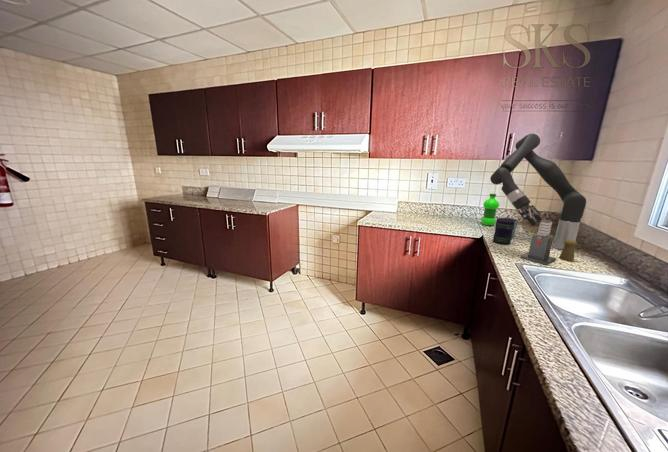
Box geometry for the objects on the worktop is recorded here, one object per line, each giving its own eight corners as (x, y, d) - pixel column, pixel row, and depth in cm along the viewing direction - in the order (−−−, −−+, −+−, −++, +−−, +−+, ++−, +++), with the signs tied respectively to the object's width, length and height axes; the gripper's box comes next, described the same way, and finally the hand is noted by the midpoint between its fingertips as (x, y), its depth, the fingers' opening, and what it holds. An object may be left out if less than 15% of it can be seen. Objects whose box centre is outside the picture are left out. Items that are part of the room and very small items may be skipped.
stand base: (529, 253, 148) (534, 231, 145) (555, 260, 139) (561, 236, 135) (520, 258, 142) (524, 234, 138) (546, 265, 132) (552, 240, 129)
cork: (558, 256, 145) (563, 237, 142) (573, 259, 141) (578, 239, 138) (559, 259, 140) (563, 240, 137) (573, 262, 137) (579, 242, 134)
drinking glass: (497, 233, 187) (500, 216, 184) (514, 235, 183) (517, 218, 180) (498, 236, 179) (502, 220, 175) (516, 239, 174) (520, 221, 171)
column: (535, 254, 142) (543, 219, 137) (544, 256, 139) (552, 221, 134) (532, 255, 140) (540, 220, 135) (541, 257, 137) (549, 222, 132)
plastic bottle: (495, 227, 202) (501, 195, 195) (480, 225, 207) (485, 194, 200) (495, 224, 210) (500, 193, 204) (480, 222, 215) (485, 192, 209)
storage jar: (489, 241, 170) (492, 218, 166) (499, 239, 173) (503, 217, 169) (503, 246, 161) (508, 222, 157) (514, 244, 165) (518, 221, 161)
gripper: (518, 201, 150) (537, 225, 144) (505, 204, 143) (525, 229, 137) (530, 193, 144) (551, 218, 138) (518, 196, 137) (539, 222, 131)
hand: (538, 223), depth 137 cm, fingers open, 8 cm apart
